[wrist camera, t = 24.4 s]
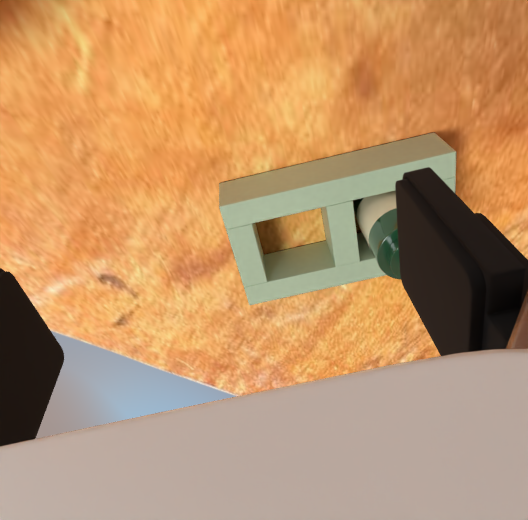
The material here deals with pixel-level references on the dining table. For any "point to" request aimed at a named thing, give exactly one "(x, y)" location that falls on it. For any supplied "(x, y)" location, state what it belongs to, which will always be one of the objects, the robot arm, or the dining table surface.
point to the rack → (333, 214)
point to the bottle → (380, 229)
